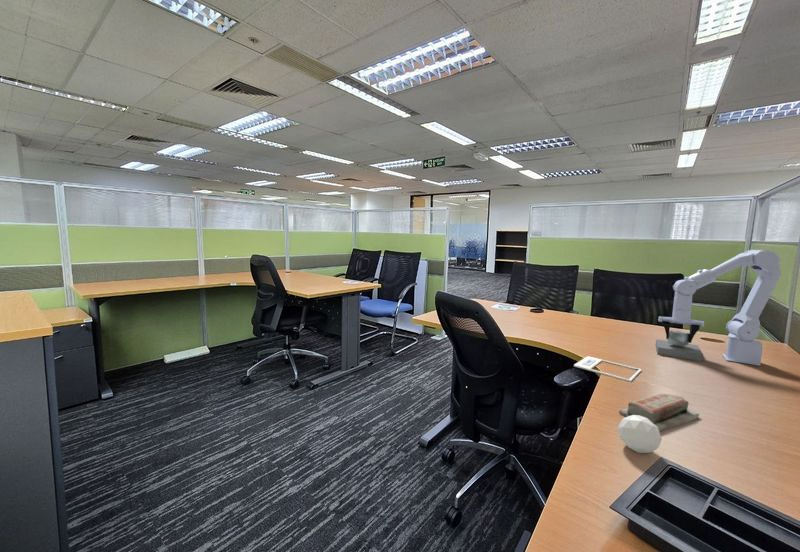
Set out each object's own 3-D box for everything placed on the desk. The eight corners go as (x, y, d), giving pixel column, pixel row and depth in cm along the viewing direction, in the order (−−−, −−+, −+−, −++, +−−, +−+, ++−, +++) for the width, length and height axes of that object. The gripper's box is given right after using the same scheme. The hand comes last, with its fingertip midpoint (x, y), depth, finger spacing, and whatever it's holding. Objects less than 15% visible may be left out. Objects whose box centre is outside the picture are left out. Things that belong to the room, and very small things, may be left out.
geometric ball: (630, 454, 77) (631, 419, 80) (669, 462, 70) (669, 423, 73) (609, 443, 74) (611, 408, 78) (647, 450, 68) (648, 411, 71)
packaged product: (660, 415, 80) (619, 397, 89) (659, 434, 81) (618, 414, 90) (701, 402, 87) (659, 386, 97) (699, 419, 88) (658, 402, 97)
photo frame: (587, 355, 133) (641, 368, 120) (587, 358, 133) (641, 371, 120) (573, 364, 123) (630, 379, 110) (573, 367, 123) (630, 383, 110)
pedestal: (696, 352, 141) (697, 345, 140) (702, 361, 129) (703, 354, 129) (655, 345, 149) (656, 339, 148) (657, 354, 137) (657, 347, 137)
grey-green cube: (688, 344, 138) (689, 333, 137) (682, 346, 135) (684, 334, 135) (673, 341, 142) (674, 330, 142) (667, 343, 140) (669, 331, 139)
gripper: (703, 309, 136) (700, 341, 138) (659, 305, 144) (656, 335, 146) (706, 312, 130) (702, 345, 132) (660, 307, 139) (657, 339, 140)
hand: (678, 340), depth 138 cm, fingers closed on grey-green cube, 6 cm apart
